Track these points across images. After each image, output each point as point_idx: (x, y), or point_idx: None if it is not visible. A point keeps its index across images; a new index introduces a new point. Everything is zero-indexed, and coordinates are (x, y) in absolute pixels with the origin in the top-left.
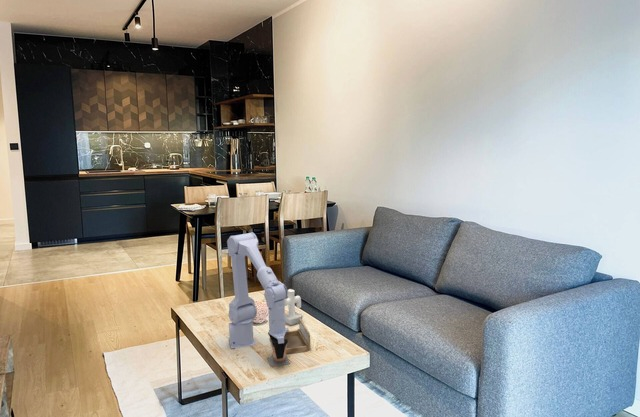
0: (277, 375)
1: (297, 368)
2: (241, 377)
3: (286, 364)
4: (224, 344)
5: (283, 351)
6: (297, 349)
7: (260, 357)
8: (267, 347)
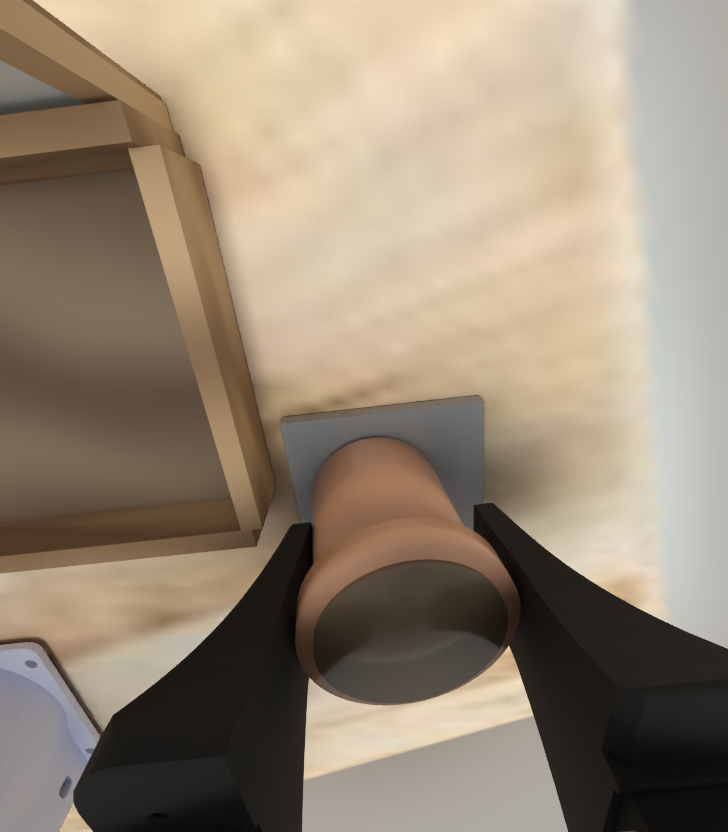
0: (623, 507)
1: (573, 332)
2: None
3: (483, 436)
4: None
5: (545, 556)
6: (212, 303)
7: None
8: None
